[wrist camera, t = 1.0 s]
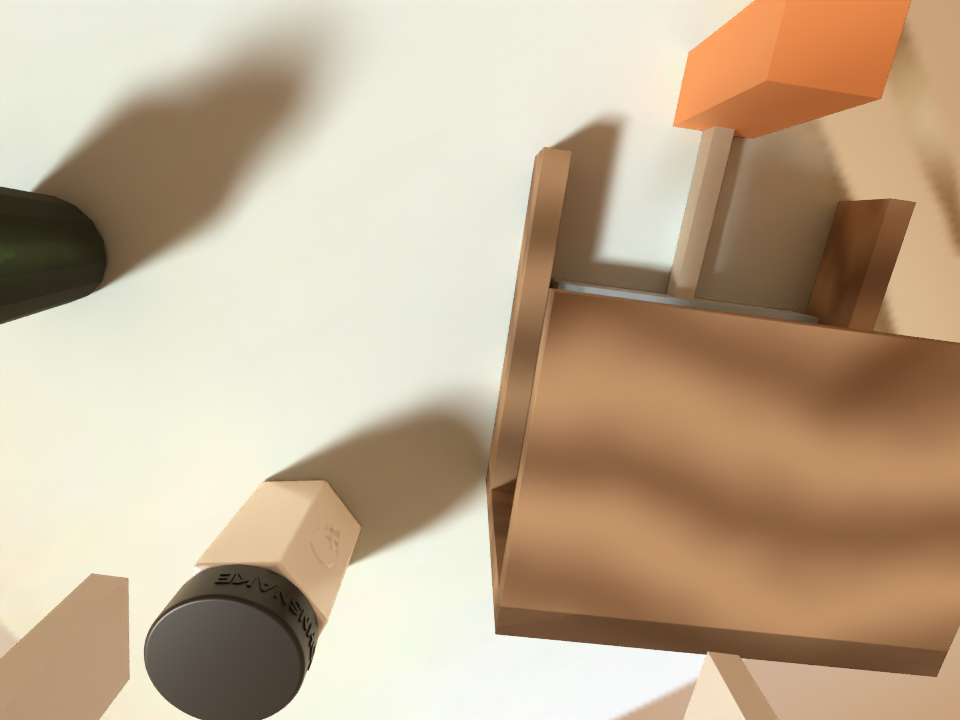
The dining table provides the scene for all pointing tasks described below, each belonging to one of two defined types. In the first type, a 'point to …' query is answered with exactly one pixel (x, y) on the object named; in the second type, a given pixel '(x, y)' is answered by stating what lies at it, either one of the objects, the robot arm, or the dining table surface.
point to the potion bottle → (45, 254)
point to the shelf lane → (727, 465)
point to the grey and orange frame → (767, 106)
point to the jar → (254, 605)
